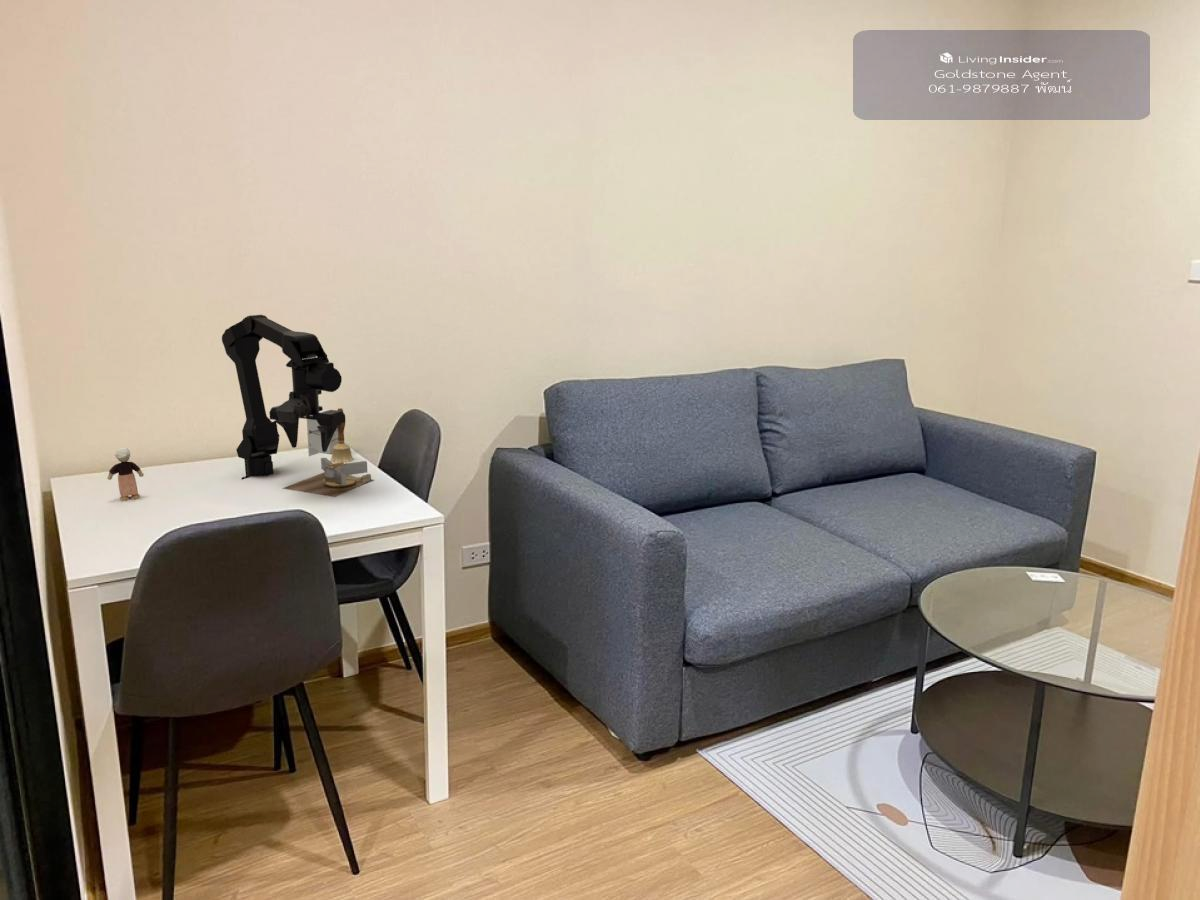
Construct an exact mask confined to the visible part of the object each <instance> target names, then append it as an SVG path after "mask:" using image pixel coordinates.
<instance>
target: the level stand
mask: <svg viewBox="0 0 1200 900" xmlns="http://www.w3.org/2000/svg"><path fill="white" fill-rule="evenodd" d="M371 474H372V473H371ZM371 474H370V473H368V474H365V475H362V476H360V477H357V476H355V477H356V484H354V485H351V486H347V487H327V486H325V485H324V483H323V479H324V478H325V475H324V472H321V473H318V474H316V475H314V476H310V477H308V478H306V479H302V480H300V481H298V482H295V483H292V484H290V485H288V486H284V487H282V490H283V489H284V490H290V491H296V492H301V493H302V492H303V493H310V494H313V495H320V496H326V497H333V498H336V497H338V496H341V495H343V494H346V493H348V492H350V491H352V490H355V489H357V488H360V487H361V486H364V485H367V484H370V483H371V482H374V481H375V479H372V475H371Z"/></svg>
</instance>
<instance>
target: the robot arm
mask: <svg viewBox="0 0 1200 900" xmlns="http://www.w3.org/2000/svg"><path fill="white" fill-rule="evenodd" d="M262 339H265V340H266V341H269V342H271V343H273V344H275V345H276V346H279V347H280V348H281V350H282V351H281V352H282V353H283V354H284V356H286V357H287V358H288V359H289V361H288V362H287V363H286V364H285V366H286V367H287V368H291V377H292V378H291V379H292V381H291V382H292V391H290V392H289V393H288V400H286V401H284V402H283V403H282V404H279V405H277V406H272V407H271V408H270V410H269V411H268V412H269V417H268V415H267V412H266V407H265V406H266V405H265V402H264V397H263V392H262V387H261V382H260V378H259V371H258V367H257V361H256V360H257V357H258V355H259V352H260V350H261V347H260V341H262ZM221 342H222V345H223V347H224V351H225V353H226V355H227V356H228V357H229V358H230V360H231V361H232V362H233V364H234V366H235V369H236V375H237V380H238V384H239V390H240V394H241V399H242V404H243V410H244V415H245V422H244V425H243V427H242V431H241V434H242V440H241V442H240V443H239V445H238V446H237V447H236V453H237V457H238V458H239V459H243V460H244V473H245V476H242V477H241V480H245V479H248V478H252V477H269V476H271V475H274V462H273V461H272V460H273V458H272V455H276V454H278V448H279V443H280V433H279V430H278V425H279V426H281V428H282V429H283V431H284V433H285V434H286V437H287V439H288V441H289V443H290V446H291V448H293V449H295V448H297V445H298V438H299V437H298V435H299V423H300V422H299V421H300V419H305V420H307V419H311V420H317V422H318V424H319V425H320V426H317V428H318V429H319V431H320V432H321V445H322V451H323V452H326V451H327V449H328V446H329V444H330V442H331V439H332V437H333V435H334V433H335V431H336V429H337V427H338V426H340V425H341V423H344V422H345V423H346V422H347V421H346V413H343V412H344V410H343V411H338V409H337V410H336V409H335V410H334V409H327V410H328V411H325V412H321V413H319V411H322V410H324V409H323V406H321V405H320V403H319V401H320V400H319V395H322V393H323V392H322V391H324V392H327V393H334V392H336V391H337V390H338V389H340V387H341V385H342V380H343V379H342V378H343V377H342V375H341V373H340V371H339V370H338V369H337V368H335V363H334V362H330V361H329V358H328V355H327V352H326V351H325V350H324V348H323V346H322V343H320V341H319V338H318V337H317V336H316V335H315V333H314V334H313V333H310V332H306V331H296V330H291V329H290V328H287V327H286V326H283V325H282V324H279V323H278V322H276V321H273V320H272V319H270V318H268V317H267V316H266V315H265V314H251V315H247V316H245V317H244V318H243V319H242V320H241V321H239V322H237V323H235V324H233V325H231V326H229V327H228V328H226V329H224V332H223V334H222V335H221ZM310 415H313V416H310ZM272 420H273V421H272Z"/></svg>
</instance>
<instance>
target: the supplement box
mask: <svg viewBox="0 0 1200 900" xmlns="http://www.w3.org/2000/svg"><path fill="white" fill-rule="evenodd" d="M328 410H329V409H323V410H322V411H319V413H321V412H325V411H328ZM310 416H313V415H310ZM317 426H320V425H319V424H318V422H317V420H311V419H306V428H307V431H306V432H307V447H308V448H307V449H308V457H311V456H314V455H318V454H326V455H331V456H332V454H333V447H334V446H336V445H337V444H338V429H336V431H335V433H334V435H333V437H332V439H331V442H330V444H329V446H328V449H327V451H326V452H323V451H322V445H321V432H320V431H319V429H318V428H317Z"/></svg>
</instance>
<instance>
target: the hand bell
mask: <svg viewBox="0 0 1200 900" xmlns="http://www.w3.org/2000/svg"><path fill="white" fill-rule="evenodd" d="M337 411H343V413H344V410H343V408H339V407H338V408H337ZM344 414H345V413H344ZM345 427H346V422H344V423H341V425H340V426H338V427H337V429H338V444H337V445H336V446H334V447H333V454H332V455H331V459H330V460H329V461H331V462H332V463H342V462H343V463H344V464H345V463H353V462H354V461H355V458H354V457H353V455H352V452H351V447H350V445H348V444H346V443H345Z"/></svg>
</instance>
